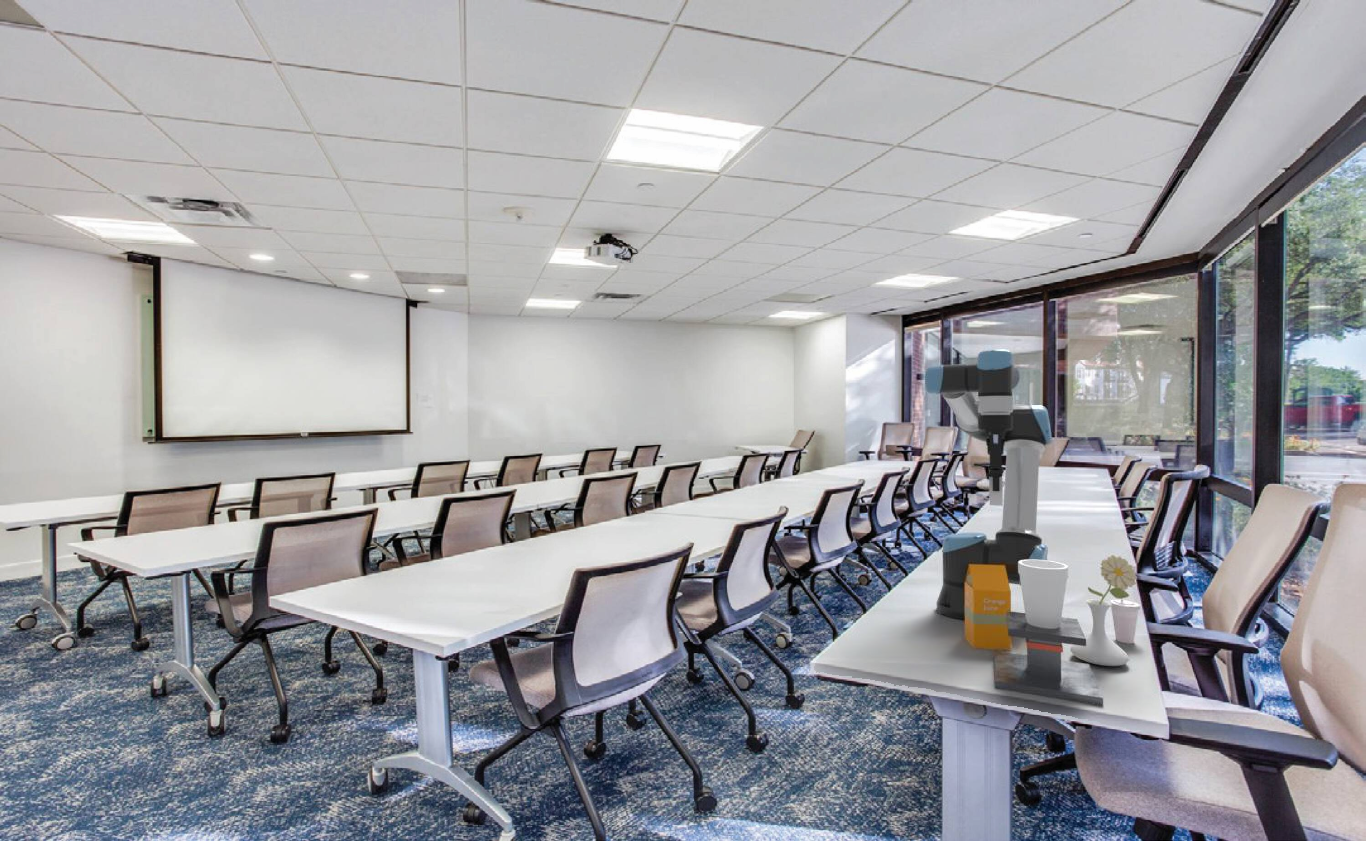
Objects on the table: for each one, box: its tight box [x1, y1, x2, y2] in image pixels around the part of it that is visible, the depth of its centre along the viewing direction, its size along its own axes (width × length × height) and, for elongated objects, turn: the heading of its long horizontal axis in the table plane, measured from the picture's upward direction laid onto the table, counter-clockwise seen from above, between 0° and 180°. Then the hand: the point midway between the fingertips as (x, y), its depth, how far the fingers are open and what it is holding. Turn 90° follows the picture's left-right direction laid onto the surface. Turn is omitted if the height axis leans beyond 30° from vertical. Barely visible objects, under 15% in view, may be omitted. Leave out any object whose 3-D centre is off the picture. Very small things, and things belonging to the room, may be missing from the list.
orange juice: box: [964, 564, 1012, 651], centre depth 157 cm, size 8×9×20 cm
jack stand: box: [993, 610, 1104, 706], centre depth 135 cm, size 19×19×12 cm
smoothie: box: [1109, 598, 1141, 644], centre depth 158 cm, size 6×6×14 cm
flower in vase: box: [1070, 555, 1138, 667], centre depth 144 cm, size 13×11×25 cm
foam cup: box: [1018, 559, 1069, 629], centre depth 135 cm, size 10×9×13 cm
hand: (995, 502), depth 149 cm, fingers open, 13 cm apart
